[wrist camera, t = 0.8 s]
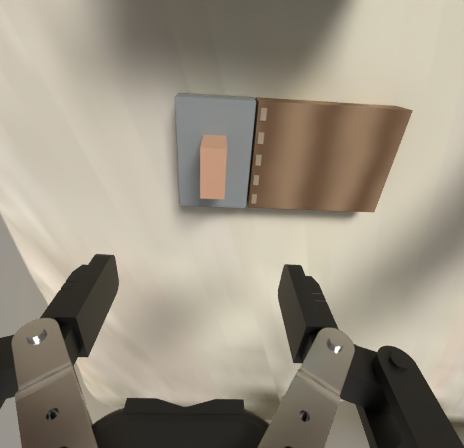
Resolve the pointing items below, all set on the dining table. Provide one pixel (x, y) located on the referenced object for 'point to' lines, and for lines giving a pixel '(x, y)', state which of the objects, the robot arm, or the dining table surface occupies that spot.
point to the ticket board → (322, 154)
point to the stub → (214, 149)
